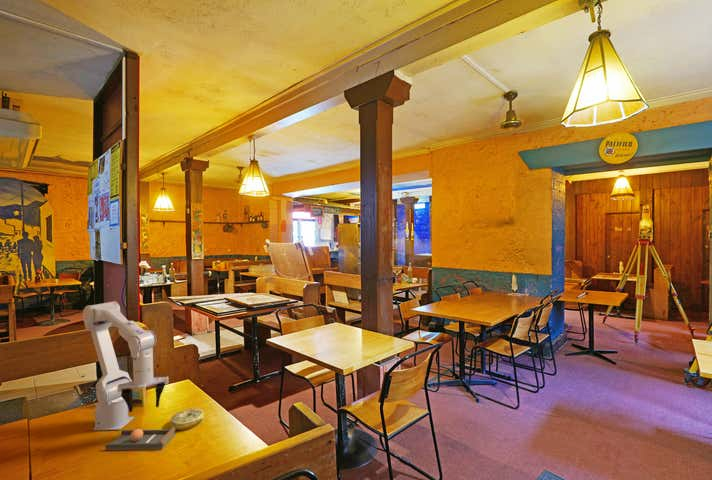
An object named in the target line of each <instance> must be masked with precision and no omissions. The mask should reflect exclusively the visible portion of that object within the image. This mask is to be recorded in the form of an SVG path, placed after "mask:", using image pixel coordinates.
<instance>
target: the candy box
mask: <svg viewBox="0 0 712 480" xmlns="http://www.w3.org/2000/svg"><path fill="white" fill-rule="evenodd" d="M132 400H133V407H145V406H147V403H148V402H147V387H145V388H136V389H133V392H132Z"/></svg>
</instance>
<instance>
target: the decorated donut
mask: <svg viewBox="0 0 712 480" xmlns="http://www.w3.org/2000/svg"><path fill="white" fill-rule="evenodd" d="M204 417H205V415H204V411H203V410H201V409H200V408H197V407H192V408H188V409H187V408H186V409H183V410H181V411H178V412H176V413H174V414H173V415H172V416H171V418H170V420H169V425H170V426H171V428H172V427H175V431H186V430H189V429H192V428H195V427H196V426H198V425H199V423H201V422H202V420H203V419H204Z"/></svg>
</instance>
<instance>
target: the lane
mask: <svg viewBox="0 0 712 480" xmlns="http://www.w3.org/2000/svg"><path fill="white" fill-rule="evenodd" d="M134 430H135V429H121V431H120V434H121V435H119V436H118V437H117V438H115V440H113V442H111V443H105V446H104V447H105V451H145V450H146V451H150V450H153V451H155V450H160V451H161V450H163V449H164V448H165V447H166V446H167V445H168V444H169V442H171V440H172V439H173V438H174V437H175V436H176V430H175V427H172V426H171V429H141V430H142V431H143V437H142V438H141V439H140V440H139V441H132V440H131V438H130V436H131V433H132V432H133V431H134Z"/></svg>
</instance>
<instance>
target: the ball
mask: <svg viewBox="0 0 712 480" xmlns="http://www.w3.org/2000/svg"><path fill="white" fill-rule="evenodd" d="M133 430H134V431H133V432H132V433H131V436H130V438H131V440H132V441H139V440H140V439H141V438H142V437H143V431H142V430H143V429H141V428H136V429H133Z"/></svg>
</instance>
